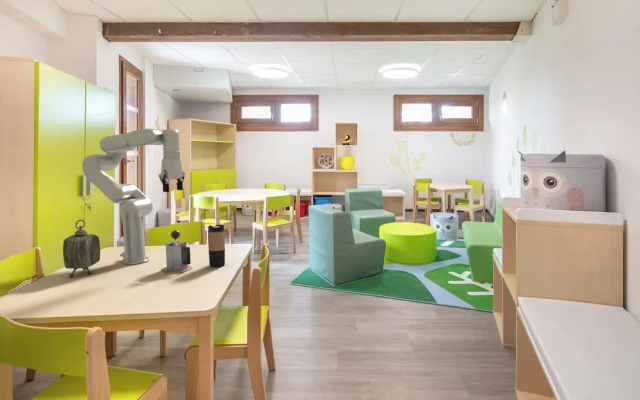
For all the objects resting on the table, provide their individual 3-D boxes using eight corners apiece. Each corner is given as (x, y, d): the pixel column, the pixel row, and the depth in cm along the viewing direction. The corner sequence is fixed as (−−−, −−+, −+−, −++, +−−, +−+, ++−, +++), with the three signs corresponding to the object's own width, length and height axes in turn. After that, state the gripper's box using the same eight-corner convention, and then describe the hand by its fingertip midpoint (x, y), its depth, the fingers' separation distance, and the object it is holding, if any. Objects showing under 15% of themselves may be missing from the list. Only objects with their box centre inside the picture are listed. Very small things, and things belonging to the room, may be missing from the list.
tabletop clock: (83, 269, 195) (79, 217, 192) (102, 269, 195) (99, 217, 192) (64, 278, 180) (60, 222, 177) (85, 278, 180) (81, 222, 178)
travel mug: (221, 269, 195) (220, 227, 193) (206, 268, 197) (204, 227, 194) (228, 265, 203) (226, 224, 200) (213, 264, 204) (212, 224, 202)
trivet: (154, 272, 189) (154, 271, 189) (175, 265, 202) (175, 263, 202) (179, 276, 184) (179, 274, 184) (198, 267, 197) (198, 266, 197)
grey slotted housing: (162, 270, 191) (161, 243, 189) (175, 265, 199) (174, 240, 197) (183, 273, 187) (182, 246, 185) (195, 268, 195) (194, 242, 193)
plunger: (167, 263, 191) (165, 230, 189) (175, 260, 197) (174, 228, 195) (177, 264, 189) (176, 231, 187) (186, 261, 195) (184, 229, 193)
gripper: (177, 155, 207) (178, 189, 209) (152, 155, 191) (153, 192, 193) (189, 155, 205) (191, 189, 207) (165, 155, 189) (166, 193, 191)
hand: (173, 191), depth 200 cm, fingers open, 9 cm apart
